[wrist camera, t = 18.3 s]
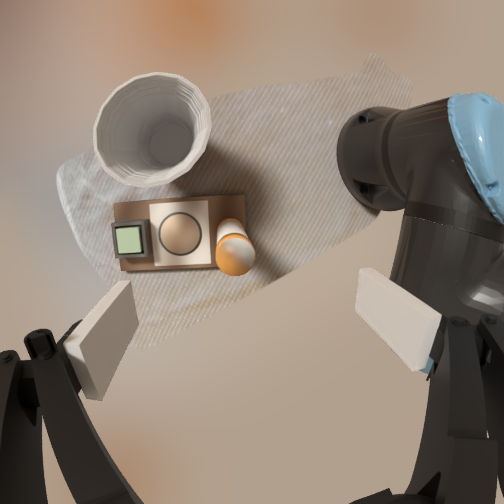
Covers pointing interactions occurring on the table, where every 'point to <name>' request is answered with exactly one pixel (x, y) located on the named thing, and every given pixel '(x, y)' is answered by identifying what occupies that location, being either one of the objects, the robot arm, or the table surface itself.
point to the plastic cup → (152, 129)
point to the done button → (129, 239)
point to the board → (176, 230)
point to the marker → (233, 248)
